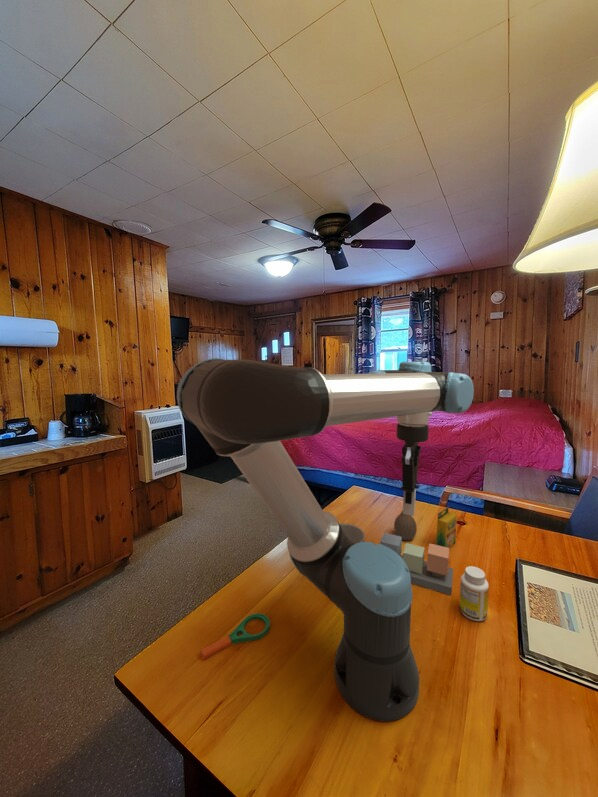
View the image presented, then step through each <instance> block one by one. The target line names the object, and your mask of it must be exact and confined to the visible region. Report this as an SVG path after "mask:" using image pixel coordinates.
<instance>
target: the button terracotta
mask: <svg viewBox="0 0 598 797" xmlns="http://www.w3.org/2000/svg"><path fill="white" fill-rule="evenodd" d="M426 556H427V557H426V558H427V560H426V562H427V570H428V571H432V572H435V573H439V574H443V575H446V576H448V567H449V562H450V549H449V548H447V547H443V546H439V545H436V544H434V543H429V544H428V550H427V555H426Z"/></svg>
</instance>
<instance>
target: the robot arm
mask: <svg viewBox="0 0 598 797" xmlns="http://www.w3.org/2000/svg"><path fill="white" fill-rule="evenodd" d="M474 389H475V388H474V383H473V380H472V379H471V377H470V376H469V375H467V374H465V373H459V372H453V371H450V372H443V371H442V372H440V371H439V372H436V371H432V364H431V363H430V362H429V361H401V362H400V363H399V365H398V369H396V370H395V369H393V370H391V369H389V370H387V369H385V370H382V369H381V370H380V369H377V370H374V371H373V370H372V371H369V372H367V373H338V374H337V373H335V374H334V373H329V374H327V373H326V374H324V373H322V372H320V371H319V370H318V369H316V368H314V367H304V366H303V367H300V366H299V367H298V366H289V365H280V364H275V363H269V362H263V361H258V360H253V359H252V360H251V359H226V358H218V357H217V358H216V357H215V358H210V359H206V360H203V361H200V362H197V363H196V364H194V365H192V366H190V368H188V369H187V370H186V371H185V372H184V373H183V375H182V377H181V378H180V381H179V382H178V385H177V390H176V401H177V406H178V408H179V411H180V412H181V414H182V416H183V417H184V418H185V419H186V420H187V421H188V422H189V423H191V424H193V425H194V426H196V428H197V429H198V430H199V432H200V433H201V435H203V437H204V439H205V440H206V441H207V442H208V444H209V445H210V447H211V448H212V449H213V450H214V452H215V453H216V455H218V456H220V457H230V458H231V459H232V460H233V463H234V464H235V465H236V466H237V468H238V470H239V471H240V472H241V473H242V475H243V477H244V478H245V479H246V481H247V482H248V483H249V485H250V486H251V487H252V490H254V492H255V493H256V495H257V497H258V498H260V500H261V502H262V504H264V506H265V507H266V509H267V510H268V511H269V513H270V515H271V516H272V517H273V519H274V521H276V523H277V524H278V525H279V527H280V528H281V530H282V532H284V534H285V535H286V537H287V539H286V540H287V541H286V542H287V543H286V546H287V550H288V553H289V557H290V560H291V562H292V563H293V565H294V568H296V570H297V571H298V572H299V573H300V575H302V576H304V577H305V578H306V579H308V580H309V581H310V582H311V583H312V584H313V585H314V586H315V587H316V588H317V589H318V590H319V591H320V592H321V593H322V594H323V595H325V597H326V598H327V599H329V600H330V602H332V603H333V604H334V605H335V606H336V607H337V608H338V609H339V610H340V611H341V613H342V614H343V633H342V635H341V638H340V641H339V644H338V645H337V648H336V652H335V654H334V655H335V656H334V678H335V679H334V680H335V682H336V686H337V689H338V691H339V693H340V695H341V697H342V698H343V699H344V700H345V702H346V703H347V704H348V705H349V706H350V707H351V708H352V709H353V710H354V711H355V712H357V713H358V714H360V715H362V716H364V717H366V718H368V719H371V720H374V721H379V722H393V721H397V720H400V719H402V718H404V717H405V716H407V715H408V714H409V713H410V712H411V711H412V710H413V709H414V708H415V706H416V705H417V701H418V699H419V694H420V674H419V668H418V666H417V662H416V658H415V655H414V653H413V651H412V647H411V644H410V643H411V641H410V640H411V617H412V602H413V590H412V589H413V588H412V584H411V576H410V572H409V569H408V567H407V565H406V563H405V562H404V560H403V559H402V558H401V557H400V556H399V555H398V554H397V553H396V552H395V551H393V550H392V549H390V548H388V547H386V546H384V545H382V544H380V543H377V544H375V543H374V542H372V541H364V542H360V543H357V542H355V541H354V540H352V539H351V538H349V537H348V536H347V535H346V534H345V532H344V531H343V529H342V527H341V526H340V523H339V521H338V519H337V517H336V516H335V515H334V514H333V513H331V512H329V511H326V510H323V509H322V507H321V505H320V504H319V502H318V501H317V499H316V497H315V495H314V494H313V492H312V491H311V489H310V487H309V486H308V484H307V483H306V481H305V479H304V478H303V476H302V474H301V473H300V471H299V470H298V467H297V466H296V465H295V463H294V461H293V459H292V458H291V456H290V455H289V453H288V451H287V450H286V448H285V447H284V445H283V443H282V442H283V441H287V440H293V439H299V438H307V437H312V436H317V435H319V434H321V433H322V432H324V430H325V428H326V427H330V426H331V427H332V426H336V425H337V426H338V425H344V424H346V425H347V424H352V423H359V422H366V421H373V420H380V419H388V418H395V417H396V421H397V424H396V438H397V439H398V440H400V441H403V442H404V444H403V445H404V446H402V448H401V449H402V450H401V454H402V456H401V464H402V466H401V468H402V486H401V487H400V490H401V491H403V497H402V498H403V499H402V500H403V502H402V503H403V504H402V511H403V514H407V515H411V516H412V517H415V514H416V513H415V512H416V510H415V509H416V496H417V495H416V494H417V493H416V491H417V490H419V489H420V485H417V483H418V474H419V473H418V470H419V462H420V453H421V449H422V447H421V446H422V445H421V446H420V445H419V443H423V442H427V441H428V440H429V433H430V432H429V428H430V427H429V425H427V424H429V422H430V417H431V416H433V413H432V412H444V413H447V414H463V413H465V412H466V411H468V410H469V408H470V407H471V406H472V402H473V399H474V394H475V393H474V392H475V390H474ZM416 489H417V490H416Z"/></svg>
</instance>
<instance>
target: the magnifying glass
mask: <svg viewBox="0 0 598 797" xmlns="http://www.w3.org/2000/svg"><path fill="white" fill-rule="evenodd" d="M253 620H254V621H255V620H260V621H262V622H263V623H264V624H265V627H264V628H263V630H262V631H261V632H259V633H257V634H255V633H254V634H251V633H248V632H247V631H246V630H245V627H246V625H247V624H248V623H249V622H251V621H253ZM270 629H271V622H270V619H269V616H267V615H266V614H264V613H259V612H258V613H252V614H250V615H248V616H246V617H244V619H243V620H241V622H240V623H239V624H238V625H237V626H236V628H235V629H234V630H233V631H231V633H229V635H226V636H225V637H223V638H221V639H220V640H219V639H218V640H217V641H215V642H213V643H210V644H209V645H207V646H205V647H204V648H202V649H200V651H199V652H200V656H201V658H202V659H201V660H205V659H208V658H209V657H212V656H214V655H215V654H217V653H220V652H221V651H223V650H225V649H226V648H228V647H230V646H232V645H234V644H239V643H245V642H250V641H251V642H252V641H257V640H260V639H262V638H263V637H264V636H266V635H267V634H268V633H269V630H270Z"/></svg>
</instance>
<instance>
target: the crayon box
mask: <svg viewBox="0 0 598 797" xmlns="http://www.w3.org/2000/svg"><path fill="white" fill-rule="evenodd" d="M449 509H450V506H447V507H446V508H444V509H443V510H441V511H440V512H438V513H437V520H436V521H437V522H436V538H435V540H436V541H435V545H439V546H443V547H447V548H449V550H450V549H451V548H453V546H454V545H455V544H456V536H457V535H456V534H457V519H458V518H457V517H458V515H457V514H456V513H453V512H450V511H449Z"/></svg>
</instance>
